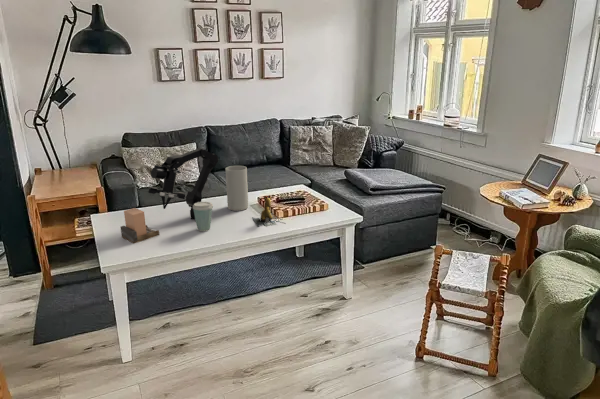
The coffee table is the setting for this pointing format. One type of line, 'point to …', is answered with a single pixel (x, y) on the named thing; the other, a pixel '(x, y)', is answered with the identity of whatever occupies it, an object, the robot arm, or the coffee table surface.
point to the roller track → (140, 238)
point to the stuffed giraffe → (266, 215)
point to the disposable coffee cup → (203, 215)
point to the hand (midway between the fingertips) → (164, 208)
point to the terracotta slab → (135, 220)
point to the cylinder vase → (237, 188)
